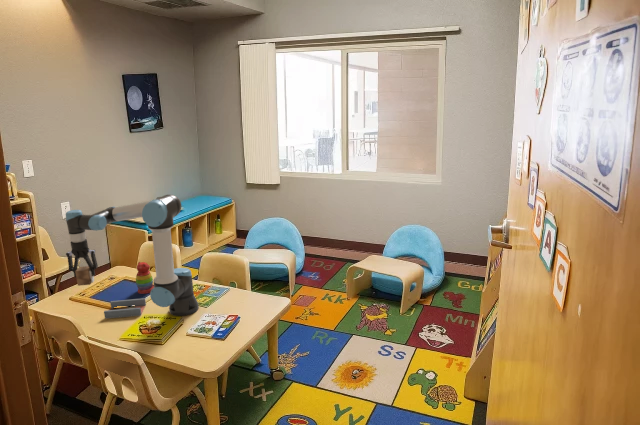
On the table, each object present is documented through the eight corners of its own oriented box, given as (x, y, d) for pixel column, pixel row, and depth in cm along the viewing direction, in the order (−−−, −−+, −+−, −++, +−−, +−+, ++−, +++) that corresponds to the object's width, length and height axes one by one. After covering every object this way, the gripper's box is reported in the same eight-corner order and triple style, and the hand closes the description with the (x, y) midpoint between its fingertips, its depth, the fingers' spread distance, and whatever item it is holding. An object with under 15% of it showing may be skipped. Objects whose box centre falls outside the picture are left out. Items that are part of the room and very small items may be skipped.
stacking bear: (158, 290, 274) (155, 262, 269) (142, 295, 267) (138, 267, 262) (150, 285, 281) (146, 257, 276) (134, 290, 274) (129, 262, 269)
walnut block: (93, 280, 244) (91, 265, 242) (90, 284, 238) (87, 270, 236) (81, 281, 243) (79, 266, 241) (77, 285, 238) (75, 271, 235)
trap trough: (146, 304, 255) (145, 298, 254) (140, 315, 243) (139, 308, 242) (112, 307, 253) (110, 301, 252) (105, 318, 241) (103, 311, 240)
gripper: (100, 236, 240) (107, 277, 246) (61, 239, 237) (69, 280, 243) (95, 241, 233) (102, 283, 239) (55, 243, 230) (64, 286, 236)
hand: (86, 282), depth 241 cm, fingers closed on walnut block, 6 cm apart
